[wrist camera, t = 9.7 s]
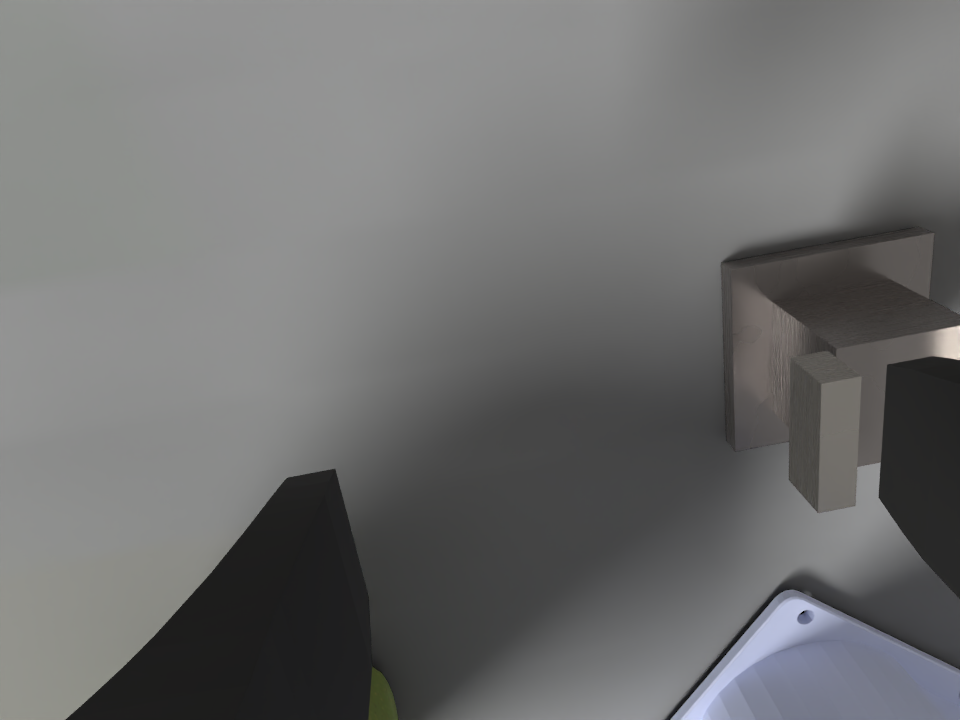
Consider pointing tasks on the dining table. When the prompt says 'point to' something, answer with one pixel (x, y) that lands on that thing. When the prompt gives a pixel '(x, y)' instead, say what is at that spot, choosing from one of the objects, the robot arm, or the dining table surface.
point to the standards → (827, 351)
